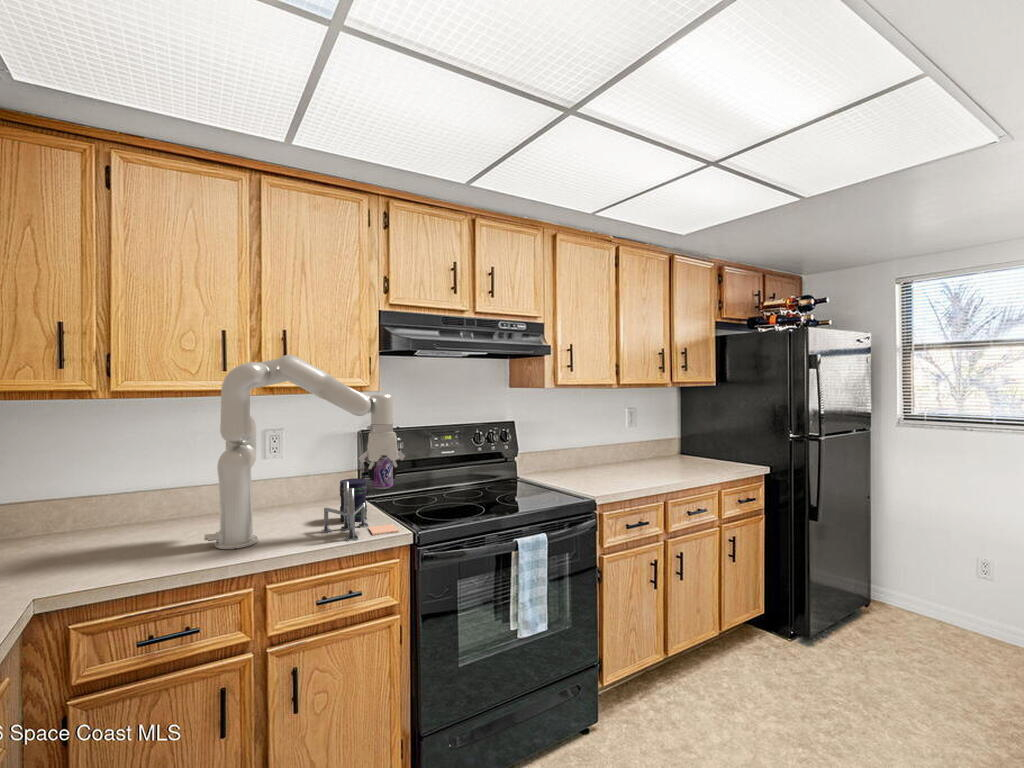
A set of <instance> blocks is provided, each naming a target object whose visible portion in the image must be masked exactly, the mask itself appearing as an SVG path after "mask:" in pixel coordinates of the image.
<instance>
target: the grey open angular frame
mask: <svg viewBox="0 0 1024 768" xmlns="http://www.w3.org/2000/svg"><path fill="white" fill-rule="evenodd" d="M360 510H361V522H360V523H358V527H359V526H360V527H362V528H365V527H364V526H368V527H369V524H368V522H366V520H365V503H361V505H360V506H358V507H357V508H356V509H355V506H354V488H349V481H345V482H344V512H343V511H340V509H339V510H338V509H333V508H330V507H324V508H323V521H324V522H323V524H324V525H323V526H324V527H323V529H321V534H322V533H323V534H328V532H331V533H332V529H331V528H329V513H333V514H337V515H344V523H343V526H340V529H341V531H342V530H346V531H348V536H345V539H347V540H346V542H350V541H349V540H353V541H357V540H356V539H358V540H359V536H358V535H356V534H355V533H356V529H355V527H356V525H355V524H356V523H355V514H356V513H357V512H358V511H360ZM360 527H359V528H360Z"/></svg>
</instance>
